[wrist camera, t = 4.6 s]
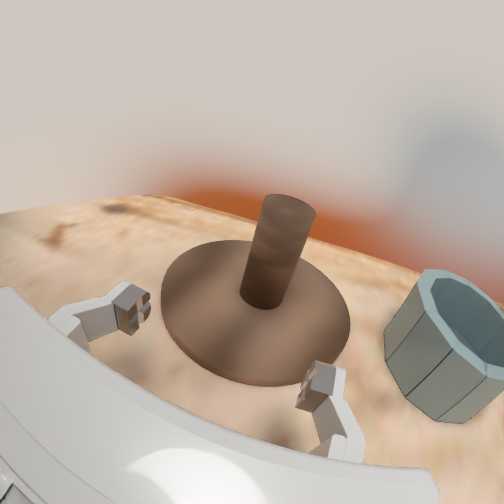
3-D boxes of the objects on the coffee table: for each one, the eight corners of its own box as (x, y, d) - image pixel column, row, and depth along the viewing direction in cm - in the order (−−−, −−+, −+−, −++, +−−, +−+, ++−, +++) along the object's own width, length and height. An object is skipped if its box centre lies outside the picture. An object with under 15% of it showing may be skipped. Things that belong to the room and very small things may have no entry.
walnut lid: (122, 334, 17) (110, 216, 12) (205, 233, 30) (219, 154, 25) (342, 410, 16) (426, 322, 11) (342, 279, 29) (377, 205, 24)
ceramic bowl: (385, 413, 15) (437, 365, 12) (380, 298, 27) (406, 253, 24) (493, 424, 13) (537, 386, 10) (468, 330, 25) (494, 293, 22)
